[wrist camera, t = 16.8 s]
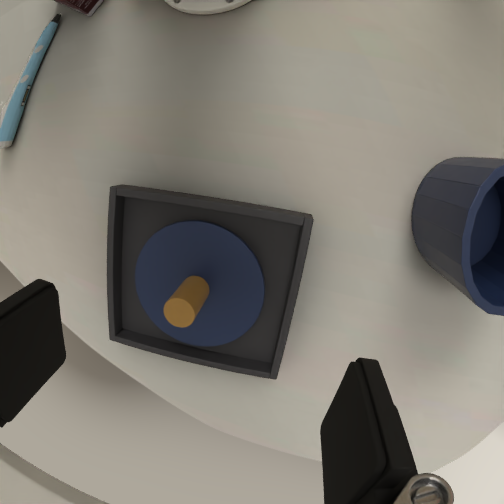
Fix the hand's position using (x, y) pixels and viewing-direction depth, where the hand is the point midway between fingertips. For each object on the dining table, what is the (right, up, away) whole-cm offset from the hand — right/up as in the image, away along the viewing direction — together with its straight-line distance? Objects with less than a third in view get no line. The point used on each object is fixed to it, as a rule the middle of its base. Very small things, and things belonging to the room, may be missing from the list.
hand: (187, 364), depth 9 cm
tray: (-3, 0, +24) cm, 24 cm away
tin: (+24, +7, +19) cm, 31 cm away
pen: (-27, +25, +20) cm, 42 cm away
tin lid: (-4, 0, +23) cm, 23 cm away
